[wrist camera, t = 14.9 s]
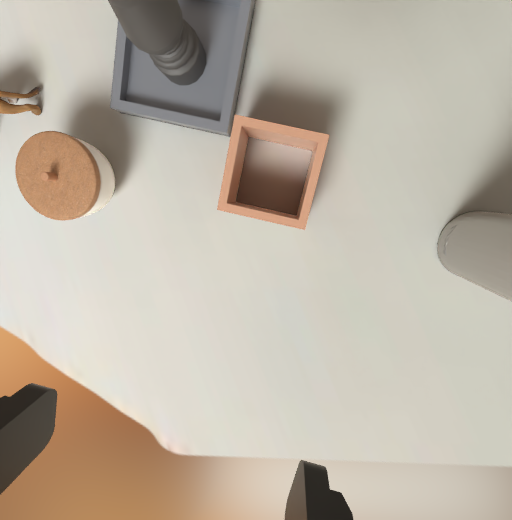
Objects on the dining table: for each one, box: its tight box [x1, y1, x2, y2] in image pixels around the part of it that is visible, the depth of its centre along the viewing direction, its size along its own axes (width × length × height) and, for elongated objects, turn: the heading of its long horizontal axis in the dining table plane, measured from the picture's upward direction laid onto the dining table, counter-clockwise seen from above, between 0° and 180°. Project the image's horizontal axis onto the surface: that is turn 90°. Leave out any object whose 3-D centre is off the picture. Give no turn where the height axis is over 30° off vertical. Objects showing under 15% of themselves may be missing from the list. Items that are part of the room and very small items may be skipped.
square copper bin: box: [217, 115, 329, 230], centre depth 38 cm, size 11×11×7 cm
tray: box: [110, 0, 255, 137], centre depth 38 cm, size 16×16×2 cm
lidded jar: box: [16, 131, 115, 220], centre depth 40 cm, size 11×11×9 cm
